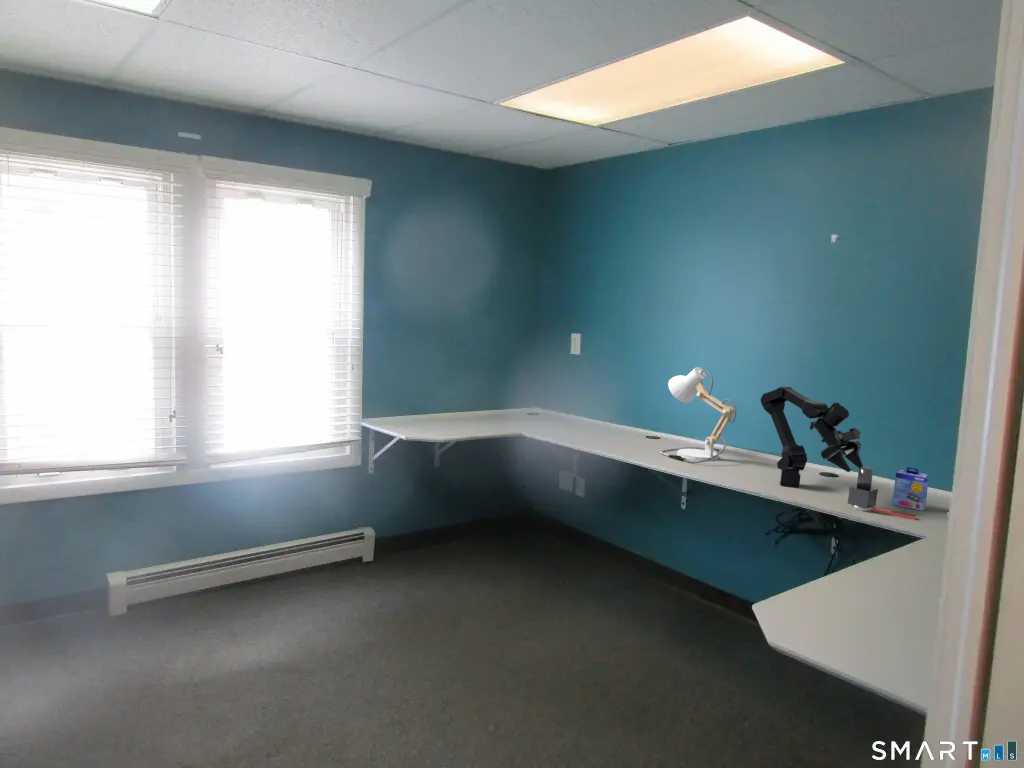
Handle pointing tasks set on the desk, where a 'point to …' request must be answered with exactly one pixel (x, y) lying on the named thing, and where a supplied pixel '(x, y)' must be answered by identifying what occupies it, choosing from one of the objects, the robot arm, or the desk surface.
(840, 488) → the desk surface
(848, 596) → the desk surface
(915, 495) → the ink cartridge box
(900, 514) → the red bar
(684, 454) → the desk lamp
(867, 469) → the grey cylinder on block
